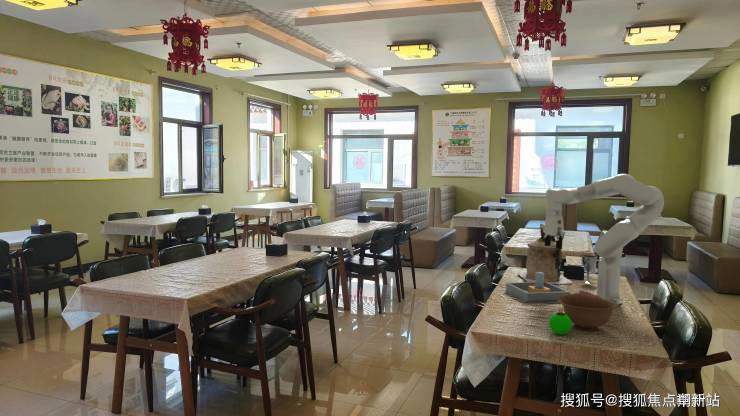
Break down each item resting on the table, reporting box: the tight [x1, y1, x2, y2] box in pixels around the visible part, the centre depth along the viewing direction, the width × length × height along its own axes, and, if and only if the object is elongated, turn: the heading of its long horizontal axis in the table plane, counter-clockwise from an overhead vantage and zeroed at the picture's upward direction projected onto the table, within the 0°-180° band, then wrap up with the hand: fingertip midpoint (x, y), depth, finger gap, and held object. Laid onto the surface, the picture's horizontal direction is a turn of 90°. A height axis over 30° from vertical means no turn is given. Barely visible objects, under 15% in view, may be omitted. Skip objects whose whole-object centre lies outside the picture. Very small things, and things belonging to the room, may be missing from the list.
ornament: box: [548, 307, 573, 336], centre depth 188 cm, size 8×8×10 cm
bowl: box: [558, 293, 619, 332], centre depth 197 cm, size 22×22×11 cm
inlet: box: [528, 286, 550, 293], centre depth 249 cm, size 8×8×2 cm
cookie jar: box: [517, 223, 573, 286], centre depth 284 cm, size 25×25×32 cm
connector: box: [535, 272, 544, 289], centre depth 249 cm, size 4×4×10 cm
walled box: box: [505, 281, 571, 304], centre depth 246 cm, size 22×22×4 cm
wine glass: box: [580, 254, 598, 285], centre depth 278 cm, size 8×8×15 cm
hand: (553, 247), depth 253 cm, fingers open, 9 cm apart
